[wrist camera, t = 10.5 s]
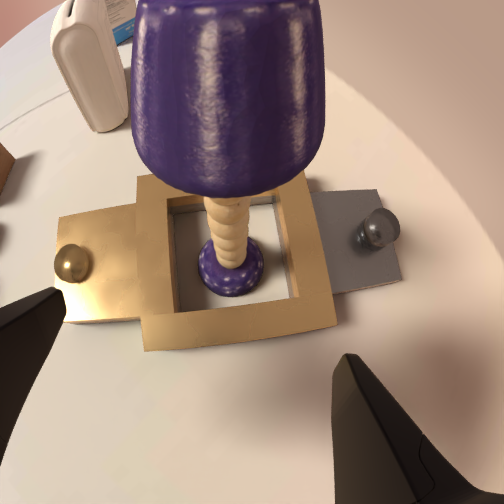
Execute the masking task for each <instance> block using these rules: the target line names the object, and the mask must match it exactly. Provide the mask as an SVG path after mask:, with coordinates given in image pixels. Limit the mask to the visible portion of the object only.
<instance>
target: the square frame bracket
mask: <svg viewBox="0 0 504 504" xmlns="http://www.w3.org/2000/svg"><path fill="white" fill-rule="evenodd" d="M268 203H273V209H274V214H275V219H276V224H277V230H278V235H279V240H280V246H281V251H282V257H283V262H284V268H285V274H286V279H287V285H288V291H289V297H290V298H289V299H283V300H276V301H269V302H262V303H255V304H248V305H241V306H233V307H225V308H217V309H209V310H200V311H191V312H181V308H180V299H179V289H178V278H177V267H176V254H175V239H174V221H173V214H179V213H186V212H194V211H203V210H206V208H205V205H204V197H203V196H200V195H195V194H190V193H185V192H183V191H181V190H178V189H175V188H173V187H171V186H169V185H167V184H165V183H164V182H163V181H162V180H160V179H158V178H157V177H156V176H155V175H154V174H149V175H143V176H137V197H136V203H134V204H128V205H122V206H116V207H110V208H105V209H99V210H94V211H89V212H83V213H78V214H73V215H69V216H64V217H59V223H58V233H57V245H56V257H55V261H54V269H55V288H58V289H60V290H62V292H63V295H64V299H65V303H66V307H67V314H66V317H65V319H64V321H63V323H70V324H86V323H104V322H120V321H134V320H141V328H142V337H143V346H144V352H146V351H161V350H174V349H186V348H196V347H206V346H215V345H223V344H231V343H238V342H246V341H253V340H259V339H266V338H272V337H278V336H284V335H290V334H295V333H301V332H306V331H311V330H316V329H321V328H326V327H331V326H336V325H338V324H337V318H336V312H335V307H334V301H333V296H332V295H334V294H340V293H345V292H350V291H356V290H361V289H366V288H371V287H376V286H380V285H385V284H390V283H394V282H397V281H399V280H402V278H401V274H400V270H399V265H398V261H397V257H396V253H395V249H394V245H393V241H395V240H396V239H397V238H398V236H399V234H400V225H399V221H398V219H397V218H396V216H395V215H394V214H393V213H392V212H391V211H389V210H387V209H385V208H383V207H382V204H381V201H380V198H379V195H378V192H377V189H372V190H347V191H328V192H312V193H310V192H309V188H308V184H307V180H306V177H305V173H304V170H303V171H302V172H300V173H299V174H298V175H297V176H296V177H294V178H293V179H292V180H291V181H289V182H287V183H285V184H283V185H281V186H279V187H277V188H275V189H272V190H269V191H266V192H263V193H261V194H258V195H254V196H251V202H250V205H258V204H268Z"/></svg>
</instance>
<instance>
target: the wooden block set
mask: <svg viewBox="0 0 504 504" xmlns="http://www.w3.org/2000/svg"><path fill="white" fill-rule="evenodd" d="M15 160H16V159H15V158H14V157H13V156H12V155H11V154H10V153H9V152H8V151H7V150H6V149H5V147H4V146H3V145H2V144H1V143H0V195H1V192H2V190H3V187H4V185H5V182H6V180H7V178H8V175H9V173H10V171H11V168H12V166H13V164H14V162H15Z"/></svg>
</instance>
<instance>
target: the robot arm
mask: <svg viewBox="0 0 504 504" xmlns="http://www.w3.org/2000/svg"><path fill="white" fill-rule="evenodd" d="M66 314H67V307H66V303H65V299H64V295H63V292H62V290H60V289H58V288H55V287H49V288H47V289H44V290H42V291H39V292H37V293H34V294H32V295H30V296H27V297H25V298H22V299H20V300H18V301H15V302H13V303H11V304H8V305H6V306H4V307H1V308H0V466H1V462H2V459H3V456H4V453H5V450H6V448H7V445H8V442H9V439H10V436H11V434H12V431H13V429H14V426H15V424H16V421H17V419H18V417H19V414H20V412H21V410H22V407H23V405H24V403H25V401H26V398H27V396H28V394H29V392H30V390H31V388H32V386H33V384H34V382H35V380H36V378H37V376H38V374H39V372H40V370H41V368H42V366H43V364H44V362H45V360H46V358H47V356H48V355H49V353H50V351H51V348H52V346H53V344H54V342H55V339H56V337H57V335H58V332H59V330H60V328H61V326H62V324H63V321H64V319H65V317H66ZM331 424H332V440H333V457H334V482H335V504H504V494H497V493H491V492H485V491H482V490H480V489H478V488H476V487H474V486H473V485H472V484H470V483H469V482H468V481H467V480H466V479H465V478H464V477H463V476H462V475H461V474H460V473H459V472H458V471H457V470H456V469H455V468H454V467H453V466H452V465H451V464H450V463H449V462H448V461H447V460H446V459H445V458H444V457H443V456H442V455H441V453H440V452H439V451H438V450H437V449H436V448H435V447H434V445H433V444H432V443H431V442H430V441H429V440H428V438H427V437H426V436H425V435H424V434H423V433H422V431H421V430H420V429H419V428H418V426H417V425H416V424H415V423H414V421H413V420H412V419H411V418H410V417H409V415H408V414H407V413H406V412H405V411H404V409H403V408H402V407H401V406H400V405H399V403H398V402H397V401H396V400H395V399H394V397H393V396H392V395H391V394H390V393H389V391H388V390H387V389H386V388H385V387H384V385H383V384H382V383H381V382H380V381H379V379H378V378H377V377H376V376H375V375H374V374H373V372H372V371H371V370H370V369H369V368H368V366H367V365H366V364H365V363H364V362H363V361H362V359H361V358H360V357H359V356H358V355H356V354H348V353H346V354H344V355H343V356H342V358H341V359H340V361H339V363H338V364H337V366H336V368H335V370H334V372H333V378H332V410H331Z"/></svg>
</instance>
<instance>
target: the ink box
mask: <svg viewBox="0 0 504 504" xmlns="http://www.w3.org/2000/svg"><path fill="white" fill-rule="evenodd" d="M104 1H105V4H106V6H107V12H108V16H109V20H110V24H111V28H112V31H113V35H114V38H115V42H116V45H118V44H119V43H121V42H123V41H124V40H126V39H128V38H129V37H131V36H133V33H134V23H135V15H136V10H137V8H136V3H135V0H104Z"/></svg>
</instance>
